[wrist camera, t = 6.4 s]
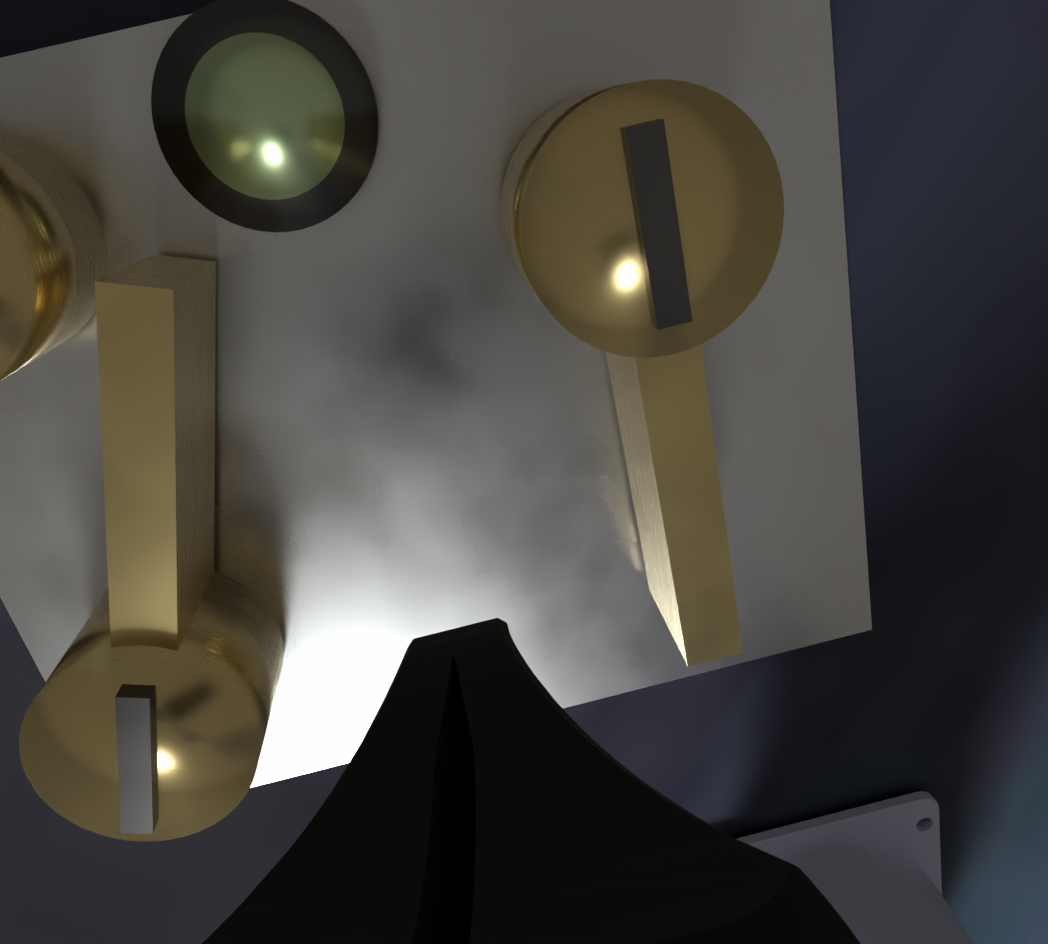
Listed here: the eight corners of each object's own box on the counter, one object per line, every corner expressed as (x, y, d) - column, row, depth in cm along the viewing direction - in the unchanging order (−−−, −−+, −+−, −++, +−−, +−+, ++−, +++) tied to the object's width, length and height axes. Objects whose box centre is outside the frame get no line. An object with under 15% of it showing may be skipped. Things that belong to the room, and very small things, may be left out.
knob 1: (281, 730, 21) (251, 858, 17) (90, 724, 20) (18, 855, 17) (299, 271, 17) (266, 310, 13) (63, 244, 16) (-38, 277, 13)
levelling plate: (850, 606, 24) (969, 737, 18) (133, 788, 23) (53, 974, 18) (794, -116, 17) (954, -218, 12) (-210, 117, 16) (-489, 113, 11)
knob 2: (478, 117, 16) (495, 115, 13) (699, 65, 17) (780, 47, 13) (585, 606, 21) (621, 709, 17) (760, 562, 21) (834, 655, 17)
